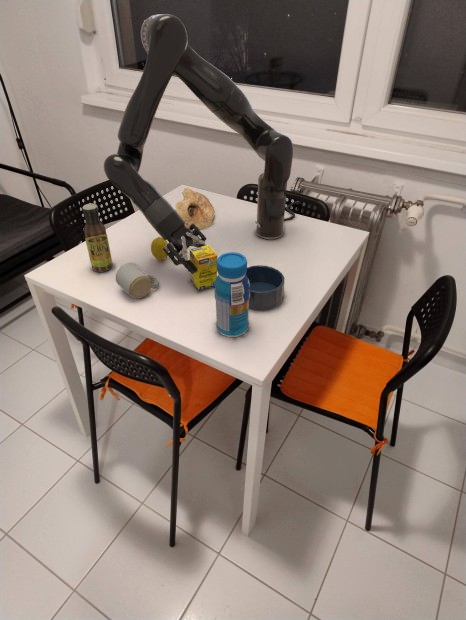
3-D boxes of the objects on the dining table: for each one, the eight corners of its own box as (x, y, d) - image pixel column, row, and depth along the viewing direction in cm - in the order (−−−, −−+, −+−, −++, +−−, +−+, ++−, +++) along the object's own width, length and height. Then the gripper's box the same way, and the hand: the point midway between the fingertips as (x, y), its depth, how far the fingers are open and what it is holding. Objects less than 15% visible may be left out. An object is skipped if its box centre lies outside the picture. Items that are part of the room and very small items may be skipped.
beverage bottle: (210, 333, 99) (206, 265, 86) (223, 313, 105) (221, 246, 92) (242, 342, 96) (243, 273, 84) (253, 320, 102) (256, 253, 90)
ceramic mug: (132, 304, 108) (127, 280, 103) (117, 290, 112) (112, 267, 108) (165, 289, 113) (162, 266, 108) (150, 277, 118) (146, 254, 113)
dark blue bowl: (247, 278, 117) (247, 261, 113) (288, 289, 113) (290, 271, 109) (229, 303, 108) (228, 285, 104) (273, 315, 104) (275, 297, 100)
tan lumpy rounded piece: (208, 244, 145) (212, 231, 139) (169, 235, 143) (171, 221, 136) (214, 207, 154) (218, 193, 147) (177, 198, 152) (179, 184, 145)
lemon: (167, 265, 123) (164, 242, 118) (150, 263, 123) (146, 240, 118) (172, 256, 127) (170, 233, 122) (156, 254, 128) (153, 232, 123)
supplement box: (198, 292, 112) (197, 260, 105) (190, 280, 116) (188, 248, 108) (217, 286, 114) (218, 254, 107) (208, 274, 118) (208, 243, 111)
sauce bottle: (94, 275, 119) (77, 213, 106) (90, 264, 123) (74, 204, 110) (116, 270, 121) (102, 208, 108) (111, 260, 125) (98, 200, 113)
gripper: (156, 222, 100) (198, 271, 103) (185, 201, 110) (222, 246, 113) (141, 236, 105) (182, 283, 108) (170, 215, 115) (206, 258, 118)
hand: (203, 264), depth 111 cm, fingers closed on supplement box, 8 cm apart
